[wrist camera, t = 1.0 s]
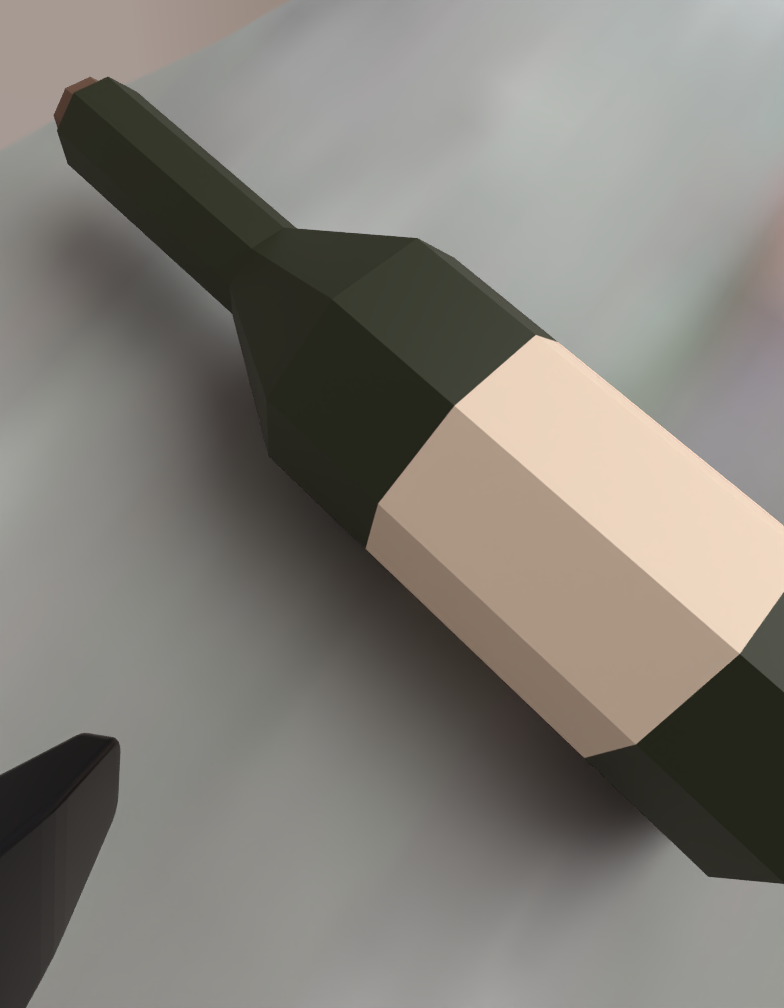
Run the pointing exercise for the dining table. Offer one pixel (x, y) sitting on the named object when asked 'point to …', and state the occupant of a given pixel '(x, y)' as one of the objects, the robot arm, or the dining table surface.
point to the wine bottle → (493, 485)
